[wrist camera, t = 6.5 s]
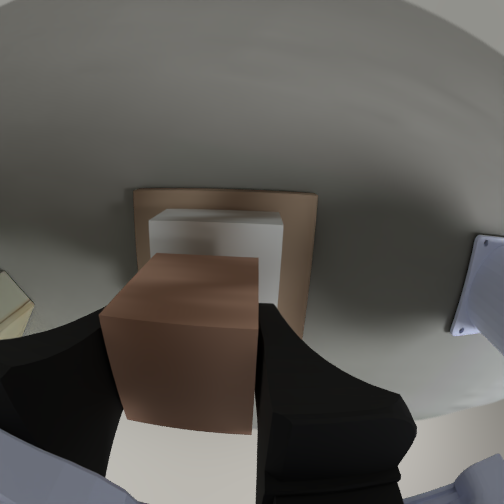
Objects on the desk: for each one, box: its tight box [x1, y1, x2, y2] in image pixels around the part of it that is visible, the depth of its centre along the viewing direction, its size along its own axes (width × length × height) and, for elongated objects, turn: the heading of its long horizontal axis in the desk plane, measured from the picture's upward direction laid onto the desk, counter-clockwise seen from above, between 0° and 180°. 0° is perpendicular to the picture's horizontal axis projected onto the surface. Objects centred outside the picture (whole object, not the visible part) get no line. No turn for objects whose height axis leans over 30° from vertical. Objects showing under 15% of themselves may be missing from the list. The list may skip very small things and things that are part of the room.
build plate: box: [133, 188, 318, 339], centre depth 16 cm, size 10×11×4 cm
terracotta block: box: [99, 253, 259, 435], centre depth 10 cm, size 4×4×5 cm
